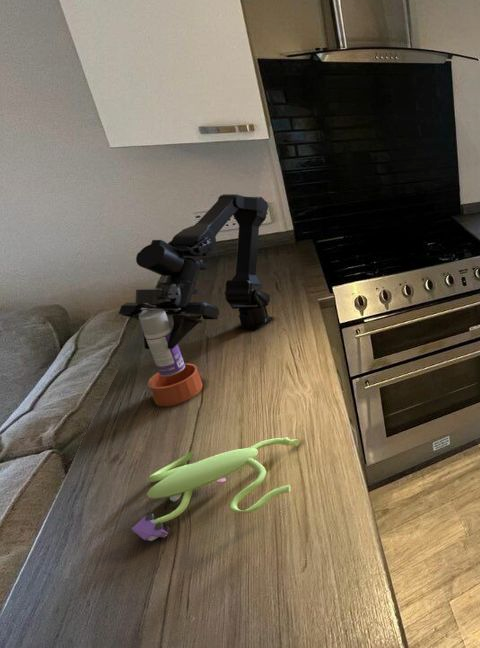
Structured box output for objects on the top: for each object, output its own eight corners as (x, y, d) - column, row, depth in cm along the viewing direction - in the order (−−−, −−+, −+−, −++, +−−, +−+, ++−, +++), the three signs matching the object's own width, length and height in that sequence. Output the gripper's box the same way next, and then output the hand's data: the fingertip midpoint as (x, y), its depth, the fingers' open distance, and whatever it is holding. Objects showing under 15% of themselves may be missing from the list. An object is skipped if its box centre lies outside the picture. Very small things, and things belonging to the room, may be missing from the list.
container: (176, 362, 104) (156, 307, 98) (190, 366, 103) (170, 310, 97) (154, 374, 100) (132, 317, 94) (168, 378, 99) (147, 321, 93)
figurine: (286, 526, 73) (279, 502, 71) (100, 557, 68) (87, 532, 66) (316, 441, 90) (311, 420, 88) (169, 461, 85) (160, 439, 83)
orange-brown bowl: (183, 377, 109) (177, 360, 107) (212, 383, 107) (206, 366, 105) (144, 402, 100) (137, 384, 99) (175, 409, 98) (168, 391, 97)
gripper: (110, 271, 96) (81, 342, 90) (196, 270, 96) (173, 341, 90) (150, 286, 106) (127, 351, 100) (228, 286, 107) (210, 350, 100)
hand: (158, 348), depth 97 cm, fingers closed on container, 4 cm apart
